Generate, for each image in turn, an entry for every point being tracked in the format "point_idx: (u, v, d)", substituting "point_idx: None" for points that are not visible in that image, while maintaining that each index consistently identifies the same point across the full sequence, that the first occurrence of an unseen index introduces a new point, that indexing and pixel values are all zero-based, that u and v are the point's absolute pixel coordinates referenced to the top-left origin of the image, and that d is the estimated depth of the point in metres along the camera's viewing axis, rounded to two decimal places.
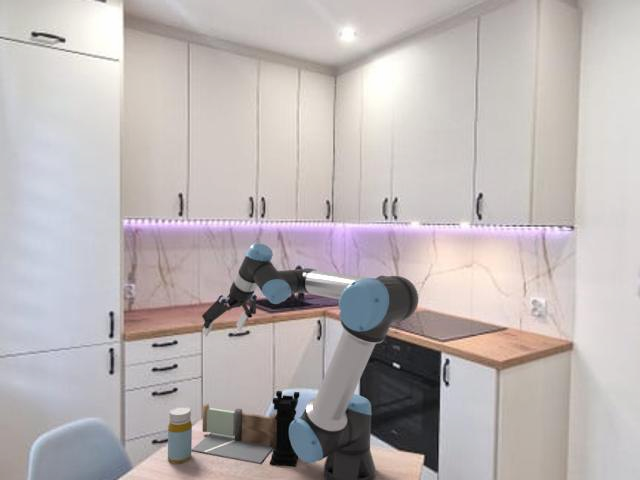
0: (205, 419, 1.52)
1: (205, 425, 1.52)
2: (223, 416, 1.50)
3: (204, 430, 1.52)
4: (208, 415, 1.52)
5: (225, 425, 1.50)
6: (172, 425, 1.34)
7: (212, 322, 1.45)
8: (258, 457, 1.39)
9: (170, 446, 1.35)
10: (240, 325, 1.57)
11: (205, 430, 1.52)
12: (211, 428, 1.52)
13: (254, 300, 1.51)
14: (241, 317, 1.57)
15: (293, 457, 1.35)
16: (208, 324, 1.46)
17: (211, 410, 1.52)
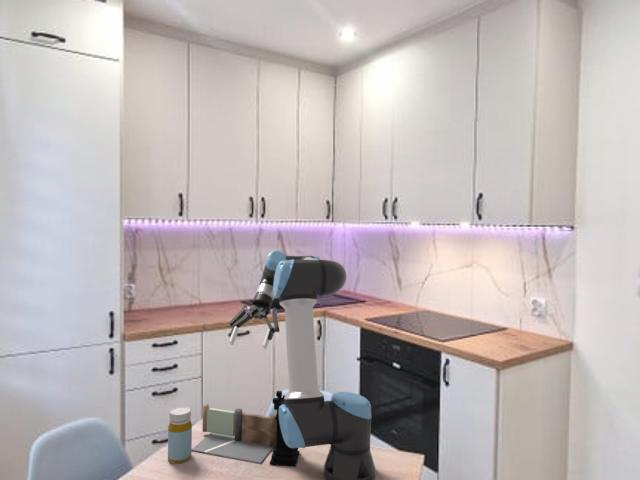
0: (205, 419, 1.52)
1: (205, 425, 1.52)
2: (223, 416, 1.50)
3: (204, 430, 1.52)
4: (208, 415, 1.52)
5: (225, 425, 1.50)
6: (172, 425, 1.34)
7: (235, 326, 1.69)
8: (258, 457, 1.39)
9: (170, 446, 1.35)
10: None
11: (205, 430, 1.52)
12: (211, 428, 1.52)
13: (273, 311, 1.71)
14: None
15: (293, 457, 1.35)
16: (232, 329, 1.69)
17: (211, 410, 1.52)
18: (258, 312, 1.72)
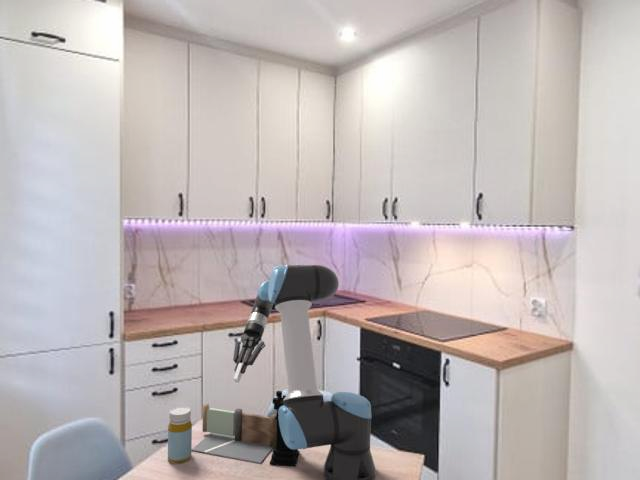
0: (205, 419, 1.52)
1: (205, 425, 1.52)
2: (223, 416, 1.50)
3: (204, 430, 1.52)
4: (208, 415, 1.52)
5: (225, 425, 1.50)
6: (172, 425, 1.34)
7: (239, 363, 1.69)
8: (258, 457, 1.39)
9: (170, 446, 1.35)
10: None
11: (205, 430, 1.52)
12: (211, 428, 1.52)
13: (259, 344, 1.73)
14: None
15: (293, 457, 1.35)
16: (237, 366, 1.68)
17: (211, 410, 1.52)
18: (249, 341, 1.75)
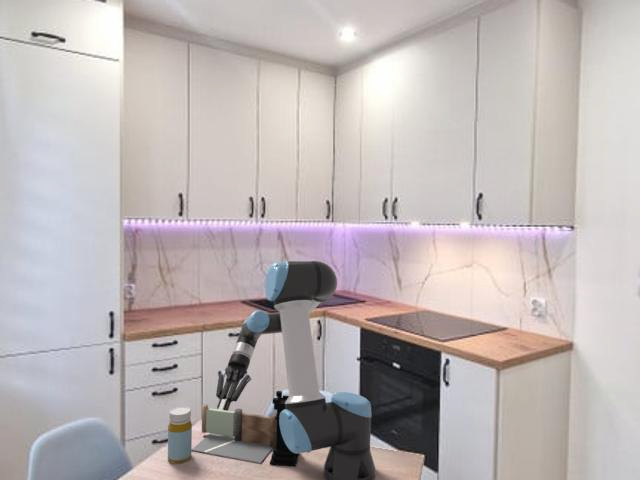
0: (204, 420, 1.51)
1: (204, 426, 1.52)
2: (223, 416, 1.50)
3: (203, 431, 1.52)
4: (207, 416, 1.51)
5: (225, 425, 1.50)
6: (172, 425, 1.34)
7: (222, 399, 1.57)
8: (258, 457, 1.39)
9: (170, 446, 1.35)
10: None
11: (204, 431, 1.52)
12: (210, 429, 1.51)
13: (244, 378, 1.61)
14: None
15: (293, 457, 1.35)
16: (220, 403, 1.56)
17: (210, 411, 1.51)
18: (234, 374, 1.63)
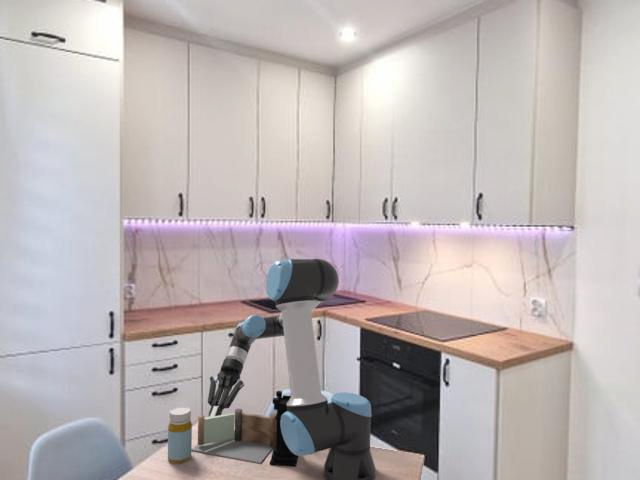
0: (203, 431, 1.43)
1: (203, 437, 1.44)
2: (223, 421, 1.47)
3: (202, 443, 1.43)
4: (205, 426, 1.44)
5: (225, 429, 1.47)
6: (172, 425, 1.34)
7: (214, 406, 1.51)
8: (258, 457, 1.39)
9: (170, 446, 1.35)
10: None
11: (202, 442, 1.44)
12: (209, 438, 1.45)
13: (237, 384, 1.55)
14: None
15: (293, 457, 1.35)
16: (211, 410, 1.51)
17: (209, 419, 1.44)
18: (226, 380, 1.57)
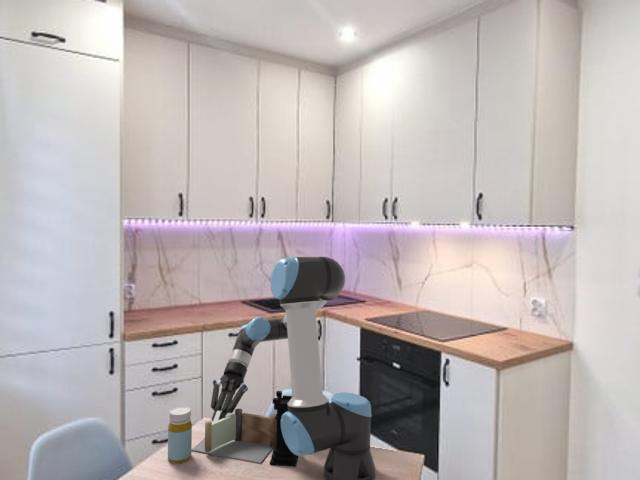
0: (211, 437, 1.40)
1: (210, 443, 1.40)
2: (227, 423, 1.45)
3: (210, 449, 1.40)
4: (212, 431, 1.41)
5: (229, 431, 1.46)
6: (172, 425, 1.34)
7: (217, 410, 1.47)
8: (258, 457, 1.39)
9: (170, 446, 1.35)
10: None
11: (210, 449, 1.40)
12: (216, 443, 1.42)
13: (241, 388, 1.51)
14: None
15: (293, 457, 1.35)
16: (214, 414, 1.47)
17: (215, 424, 1.41)
18: (229, 384, 1.53)
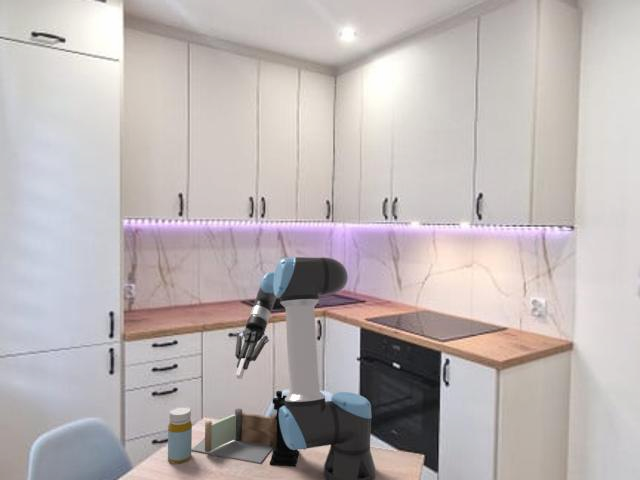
0: (211, 437, 1.40)
1: (211, 443, 1.40)
2: (227, 423, 1.45)
3: (210, 449, 1.40)
4: (212, 431, 1.40)
5: (229, 431, 1.46)
6: (172, 425, 1.34)
7: (242, 358, 1.60)
8: (258, 457, 1.39)
9: (170, 446, 1.35)
10: None
11: (210, 449, 1.40)
12: (216, 443, 1.42)
13: (263, 339, 1.64)
14: None
15: (293, 457, 1.35)
16: (239, 362, 1.60)
17: (216, 424, 1.41)
18: (252, 336, 1.66)
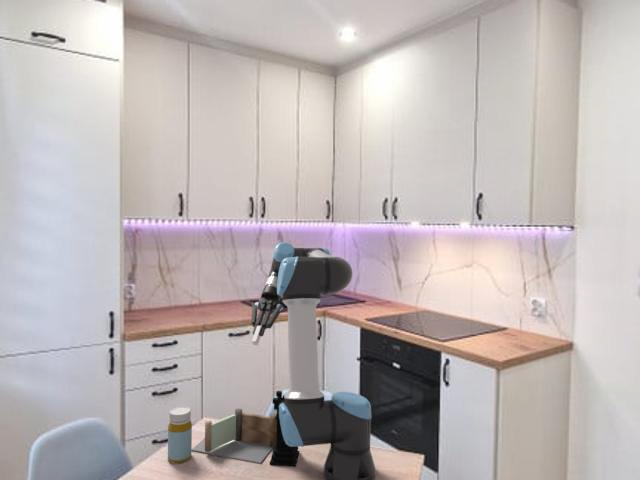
0: (211, 437, 1.40)
1: (211, 443, 1.40)
2: (227, 423, 1.45)
3: (210, 449, 1.40)
4: (212, 431, 1.40)
5: (229, 431, 1.46)
6: (172, 425, 1.34)
7: (258, 325, 1.64)
8: (258, 457, 1.39)
9: (170, 446, 1.35)
10: None
11: (210, 449, 1.40)
12: (216, 443, 1.42)
13: (278, 308, 1.68)
14: None
15: (293, 457, 1.35)
16: (255, 329, 1.63)
17: (216, 424, 1.41)
18: (267, 305, 1.70)
